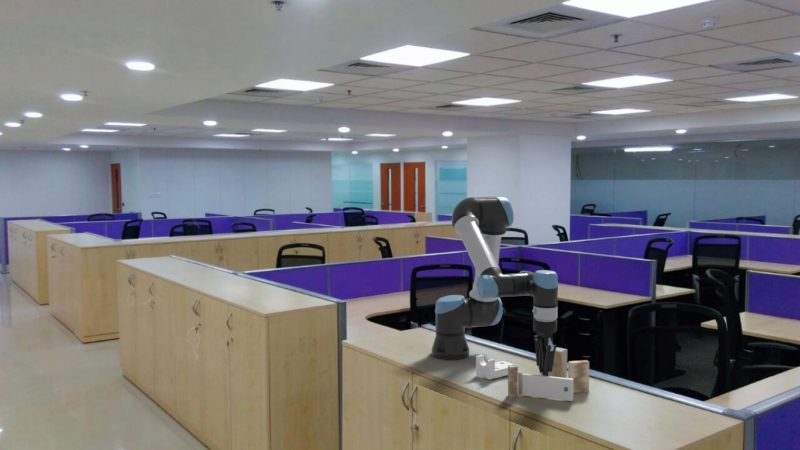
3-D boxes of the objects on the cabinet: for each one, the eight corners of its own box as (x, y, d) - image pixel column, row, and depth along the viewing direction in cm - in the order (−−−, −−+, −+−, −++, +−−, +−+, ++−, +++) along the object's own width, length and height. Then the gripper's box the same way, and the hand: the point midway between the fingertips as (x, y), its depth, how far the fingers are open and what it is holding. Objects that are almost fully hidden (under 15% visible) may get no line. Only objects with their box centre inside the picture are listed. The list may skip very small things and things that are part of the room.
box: (547, 380, 211) (547, 348, 210) (553, 377, 214) (554, 346, 213) (561, 383, 207) (561, 351, 207) (567, 380, 211) (567, 348, 210)
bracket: (489, 382, 211) (489, 360, 210) (476, 376, 217) (476, 356, 216) (517, 375, 218) (516, 354, 217) (503, 370, 224) (503, 350, 223)
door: (517, 395, 195) (517, 374, 194) (518, 393, 197) (518, 371, 197) (572, 402, 188) (572, 379, 188) (573, 399, 191) (573, 377, 190)
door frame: (510, 398, 194) (510, 367, 194) (507, 395, 197) (507, 364, 196) (589, 392, 198) (589, 362, 198) (585, 389, 201) (585, 359, 200)
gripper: (526, 314, 200) (525, 384, 202) (541, 324, 188) (540, 398, 190) (548, 313, 201) (547, 383, 203) (564, 323, 189) (563, 397, 191)
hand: (544, 390), depth 197 cm, fingers closed
